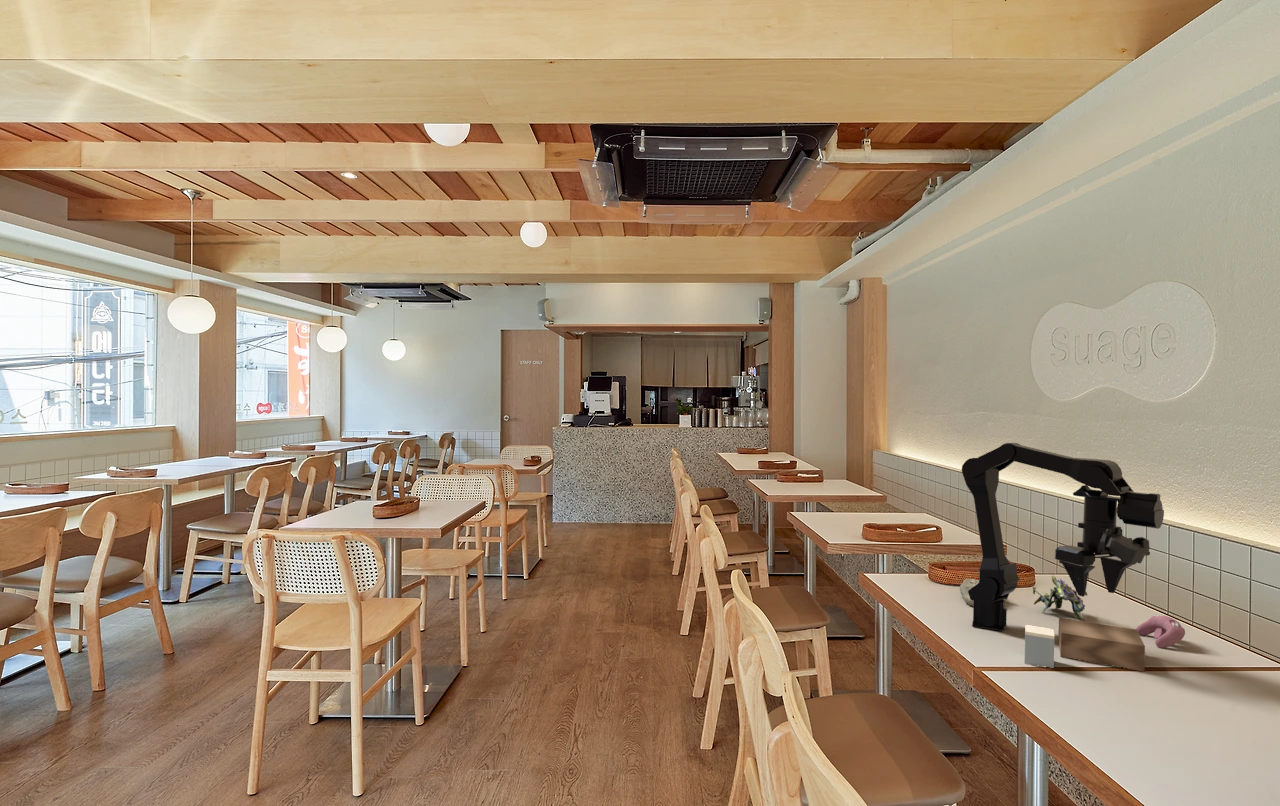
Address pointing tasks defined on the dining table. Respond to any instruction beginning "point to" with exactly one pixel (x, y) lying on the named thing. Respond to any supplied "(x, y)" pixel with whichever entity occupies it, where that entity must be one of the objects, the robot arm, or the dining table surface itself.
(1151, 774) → the dining table surface
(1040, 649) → the grey block
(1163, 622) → the pink creature figurine
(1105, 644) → the walnut step
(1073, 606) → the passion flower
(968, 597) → the elongated rock
